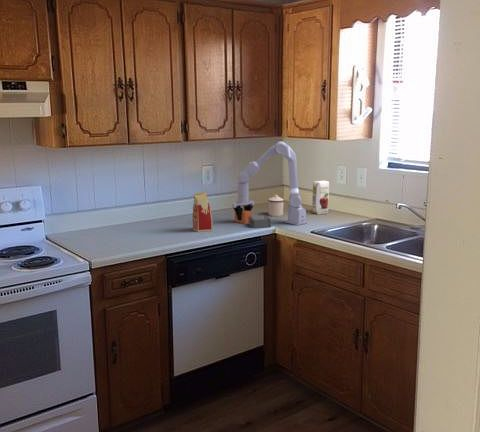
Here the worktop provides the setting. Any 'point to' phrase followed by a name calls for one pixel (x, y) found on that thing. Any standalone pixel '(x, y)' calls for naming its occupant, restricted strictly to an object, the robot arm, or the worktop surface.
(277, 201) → the teacup with lid
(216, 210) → the worktop surface
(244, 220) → the block
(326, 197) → the juice carton
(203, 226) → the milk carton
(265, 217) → the coupler channel
